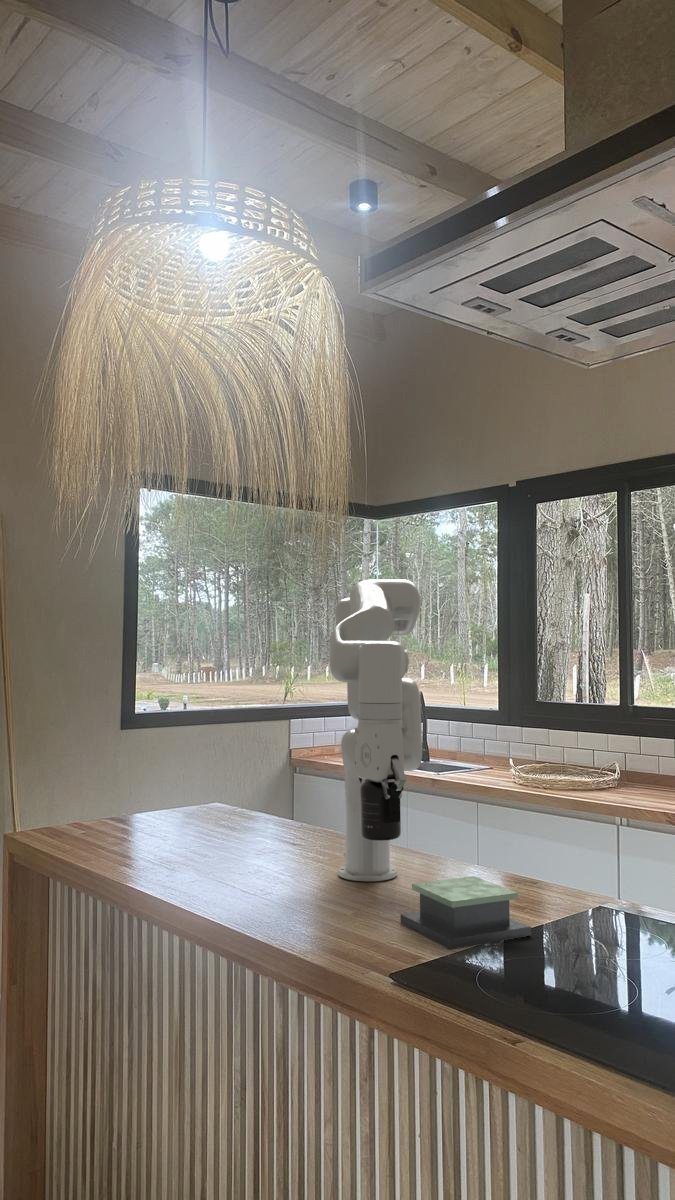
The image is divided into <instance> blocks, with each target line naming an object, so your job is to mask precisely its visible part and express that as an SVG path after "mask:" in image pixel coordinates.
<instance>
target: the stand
mask: <svg viewBox="0 0 675 1200" xmlns="http://www.w3.org/2000/svg"><path fill="white" fill-rule="evenodd" d="M411 890H412V891H415V892H417V893H419V911H412V912H411V911H410V912H405V913H401V914H400V925H403V926H405V927H406V928H409V929H410V930H413V931H414V932H417V933H418V934H420V935H422V936H424V937H425V938H427V939H429V940H431V941H433V942H435V943H437V944H439V945H441V946H443V947H445V948H446V949H448V950H457V949H460V948H468V947H473V946H475V947H476V946H479V945H486V944H492V943H500V942H504V941H503V940H505V941H507V940H506V939H509V938H516V937H521V936H527V935H531V936H532V926H531V925H528V924H526V923H523V922H521V921H520V920H517V919H514V918H511V916H510V914H511V913H510V900H518V899H519V898H518V896H519V894H518V892H517V891H514V890H511V889H510V888H507V887H504V886H501V885H498V884H496V883H494V882H491V881H488V880H487V879H486V880H485V879H482V878H480V877H477V876H476V875H471V876H462V877H455V878H449V879H448V878H447V879H440V880H431V881H423V882H414V883H411Z"/></svg>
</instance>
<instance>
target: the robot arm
mask: <svg viewBox="0 0 675 1200" xmlns="http://www.w3.org/2000/svg"><path fill="white" fill-rule="evenodd" d="M420 610H421V596H420V592H419V590H418V587H417V586H416V584H415V583H413V582H412V581H410V580H408V579H380V578H379V579H373V578H372V579H365V580H362V581H361V580H360V581H359V582H358V583H356V584H355V585H354V586H353V587H352V589H351V590H350V593H349V597H346V598H343V599H341V600H339V601H338V602H337V603H336V606H335V610H334V614H335V615H334V617H335V619H334V620H335V624H336V625H335V627H334V629H333V631H332V633H331V635H330V638H329V646H328V647H329V648H328V651H329V653H328V654H329V656H328V657H329V659H328V660H329V668H330V672H331V675H332V677H333V678H334V679H335V680H336V681H338V682H342V683H346V687H347V695H346V696H347V697H346V699H347V707H348V713H349V715H350V717H352V719H355V720H357V721H358V724H357V727H354V728H351V729H349V730H347V731H346V732H344V734H343V736H342V738H341V743H340V747H341V748H340V749H341V751H340V752H341V756H342V763H343V771H344V786H345V787H344V788H345V789H344V791H345V796H344V797H345V800H344V801H345V803H344V804H345V806H344V807H345V819H344V820H345V821H344V822H345V823H344V824H345V833H344V834H345V835H344V836H345V839H344V840H345V851H344V852H343V855H342V856H343V858H344V859H345V865H342V866H341V867H339V869H338V876H339V877H340V878H341V879H344V880H348V881H353V882H383V881H387V880H391V879H393V878H396V877H397V876H398V870H397V868H396V867H394V866H392V865H391V861H390V860H391V859H390V854H391V853H390V852H391V851H390V841H391V840H382V841H379V840H368V839H365V838H363V837H362V835H361V806H360V787H361V785H362V784H363V783H364V782H365V781H367V780H369V781H373V782H381V784H382V788H383V793H384V797H385V798H383V799H382V822H383V823H393V822H399V821H400V816H401V799H402V796H403V794H402V793H403V790H404V788H405V787H404V786H405V784H406V782H407V776H406V773H405V772H412V771H416V770H417V769H419V767H420V766H421V764H422V760H423V758H422V757H423V738H422V732H423V731H422V705H421V694H420V689H419V686H418V684H417V683H416V681H414V679H412V678H409V677H405V676H406V674H407V673H408V671H409V664H410V660H409V652H408V650H407V649H406V648H405V646H404V645H403V644H402V643H401V642H399V641H396V640H388V639H389V638H390V637H391V636H405V635H406V636H407V635H409V634H410V633H412V632H413V630H414V629H415V626H416V624H417V620H418V618H419V615H420ZM387 777H393V779H386V778H387ZM388 784H392V785H391V787H390V789H389V787H388Z"/></svg>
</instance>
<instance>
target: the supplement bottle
mask: <svg viewBox="0 0 675 1200" xmlns="http://www.w3.org/2000/svg"><path fill="white" fill-rule="evenodd" d="M386 779H393V777H387V778H386ZM391 785H392V784H388V787H389V789H390V787H391ZM383 798H385V797H384V793H383V788H382V784H381V782H373V781H369V780H367V781H365V782H364V783H363V784H362V785H361V787H360V806H361V835H362V837H363V838H365V839H368V840H379V841H382V840H390V841H391V840H397V839H398V838H400V837H401V834H402V831H401V829H402V827H401V824H402V823H401V821H402V820H401V815H400V821H399V822H393V823H383V822H382V799H383Z"/></svg>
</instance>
